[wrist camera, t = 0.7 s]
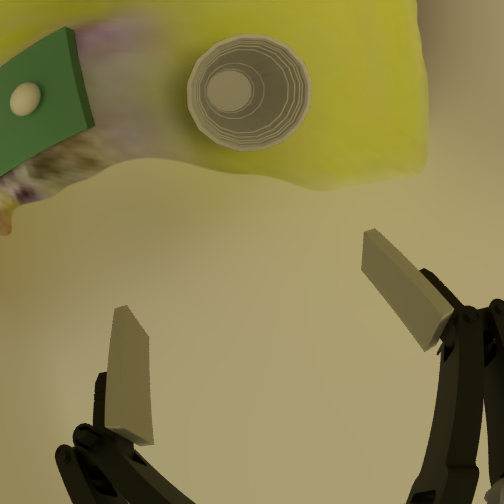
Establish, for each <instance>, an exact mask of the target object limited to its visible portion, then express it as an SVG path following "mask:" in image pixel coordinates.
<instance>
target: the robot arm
mask: <svg viewBox="0 0 504 504" xmlns="http://www.w3.org/2000/svg"><path fill="white" fill-rule="evenodd" d="M361 270H362V271H363V273H365V275H366V276H367V277H368V279H369V280H370V281H371V282H372V283H373V284H374V286H375V287H376V288H377V290H378V291H379V292H380V293H381V295H382V296H383V297H384V298H385V300H386V301H387V302H388V304H389V305H390V306H391V307H392V309H393V310H394V311H395V313H396V314H397V315H398V316H399V318H400V319H401V320H402V322H403V323H404V324H405V326H406V327H407V328H408V330H409V331H410V332H411V334H412V335H413V337H414V338H415V339H416V341H417V342H418V343H419V345H420V346H421V347H422V349H423V350H424V352H426V351H428V350H429V349H431V348H432V347H434V346H435V345H436V344H437V342H438V340H439V339H441V340H442V342H443V343H442V344H441V346H440V348H439V350H438V351H437V355H439V353H440V352H441V361H440V372H439V383H438V391H437V398H436V405H435V411H434V418H433V422H432V427H431V432H430V437H429V441H428V446H427V450H426V454H425V458H424V461H423V465H422V468H421V472H420V474H419V476H418V477H417V478H416V480H415V482H414V484H413V486H412V489H411V491H410V494H409V497H408V499H407V502H406V504H472V500H473V497H474V494H475V490H476V486H477V483H478V478H479V468H478V467H477V466H476V463H475V461H476V456H477V450H478V445H479V438H480V430H481V423H482V412H483V399H484V404H485V412H486V422H487V434H488V454H489V476H490V483H491V489H490V490H488V491H487V492H486V494H485V498H484V499H485V501H487V504H504V301H503V300H501V299H494V300H493V301H492V302H491V303H490V305H489V307H486V308H482V309H478V310H477V309H476V308H474V307H472V306H464V305H463V304H462V303H461V302H460V301H459V300H458V299H457V298H456V297H455V296H454V295H453V293H452V292H451V291H450V290H449V289H448V288H447V287H446V286H444V284H443V283H442V282H441V281H439V279H438V278H437V277H436V276H435V275H434V274H433V273H432V272H430V271H428V270H427V269H425V268H423V269H421V270H418V269H417V268H416V267H415V266H414V265H413V264H412V263H411V262H410V261H408V259H407V258H406V257H405V256H404V255H403V254H402V253H401V252H399V250H398V249H397V248H396V247H394V246H393V245H392V244H391V243H390V242H389V241H388V240H387V239H386V238H385V237H384V236H383V235H382V234H381V233H380V232H378V231H377V230H376V229H375V228H374V229H371V230H368V231H365V232H364V239H363V254H362V268H361ZM494 338H495V339H494ZM94 400H95V402H94V409H93V410H94V411H93V426H91V425H90V424H87V423H83V424H80V425H79V426H77V427H76V429H75V430H74V433H73V443H74V445H75V447H70V446H68V445H65V444H63V445H60V446H59V447H58V448H57V450H56V453H55V459H56V463H57V466H58V469H59V472H60V474H61V477H62V480H63V482H64V484H65V487H66V489H67V492H68V494H69V496H70V498H71V501H72V503H73V504H128V502H129V504H195V503H194V502H193V501H192V500H190V499H189V498H188V497H186V496H185V495H184V494H183V493H182V492H180V491H179V490H178V489H177V488H176V487H174V486H173V485H172V484H171V483H170V482H169V481H167V480H166V479H165V478H164V477H163V476H162V475H161V474H160V473H158V471H156V470H155V469H154V468H153V467H152V466H151V465H150V464H149V463H148V462H147V461H146V460H145V459H144V458H143V457H142V456H141V455H140V454H139V453H138V452H137V451H136V450H135V449H134V446H133V443H135V444H137V445H139V446H146V445H154V439H153V428H152V417H151V400H150V376H149V336H148V335H147V333H146V332H145V330H144V329H143V328H142V326H141V325H140V324H139V322H138V321H137V319H136V318H135V316H134V315H133V313H132V312H131V310H130V309H129V308H128V306H127V305H126V306H122V307H119V308H116V309H115V310H114V317H113V324H112V331H111V339H110V347H109V356H108V368H107V372H103V373H99V375H98V378H97V380H96V382H95V394H94ZM126 500H127V501H128V502H127V501H126Z"/></svg>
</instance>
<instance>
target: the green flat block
mask: <svg viewBox="0 0 504 504" xmlns="http://www.w3.org/2000/svg"><path fill="white" fill-rule="evenodd" d="M26 82H32V83H35V84H36V85H37V86H38V87H39V89H40V93H41V97H40V101H39V104H38V106H37V107H36V109H35V110H34V111H33V112H31V113H30V114H28V115H26V116H18V115H16V114H14V113H13V112H12V110H11V108H10V98H11V95H12V93H13V92H14V90H15V89H16V88H17V87H18V86H19V85H21V84H23V83H26ZM92 126H95V124H94V120H93V117H92V113H91V109H90V106H89V102H88V98H87V94H86V90H85V86H84V81H83V77H82V73H81V68H80V63H79V58H78V53H77V47H76V41H75V35H74V31H73V30H71V29H69V28H67V27H64V28H62V29H60V30H58V31H56V32H54V33H52V34H51V35H49V36H47V37H45V38H44V39H42V40H40V41H39V42H37V43H35V44H34V45H32V46H31V47H29V48H27V49H26V50H24V51H23V52H21V53H20V54H18V55H17V56H16V57H14V58H13V59H11V60H10V61H8V62H7V63H6V64H4V65H3V66H2V67H0V176H2V175H3V174H5V173H6V172H8V171H10V170H11V169H13V168H14V167H16V166H17V165H19V164H21V163H22V162H24V161H26V160H27V159H29V158H31V157H33V156H34V155H36V154H38V153H40V152H41V151H43V150H45V149H47V148H49V147H51V146H53V145H55V144H56V143H58V142H60V141H62V140H64V139H66V138H69V137H71V136H73V135H75V134H77V133H79V132H81V131H84V130H86V129H88V128H90V127H92Z"/></svg>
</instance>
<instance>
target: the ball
mask: <svg viewBox="0 0 504 504" xmlns="http://www.w3.org/2000/svg"><path fill="white" fill-rule="evenodd" d="M40 97H41V93H40V89H39V87H38V86H37V85H36V84H35V83H32V82H26V83H23V84H21V85H19V86H18V87H17V88H16V89H15V90H14V92H13V93H12V95H11V98H10V108H11V110H12V112H13V113H14V114H16V115H18V116H26V115H28V114H30V113H31V112H33V111H34V110H35V109H36V107H37V106H38V104H39V101H40Z"/></svg>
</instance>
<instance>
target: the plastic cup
mask: <svg viewBox="0 0 504 504" xmlns="http://www.w3.org/2000/svg"><path fill="white" fill-rule="evenodd" d="M311 93H312V83H311V80H310V77H309V74H308V71H307V68H306V65H305V63H304V62H303V60H302V59H301V58H300V57H299V56H298V55H297V54H296V53H295V52H294V51H293V49H292V48H291V47H290V46H289V45H287V44H285V43H282V42H280V41H278V40H276V39H274V38H272V37H269V36H267V35H255V34H239V35H236V36H233V37H230V38H227V39H225V40H222V41H219V42H217V43H215V44H214V45H213V46H212V47H211V48H209V49H208V50H207V51H206V52H205V53H204V54H203V55H202V56H201V57H200V58H199V59H198V60H197V61H196V63H195V65H194V68H193V70H192V72H191V75H190V77H189V80H188V82H187V102H188V109H189V111H190V113H191V115H192V117H193V119H194V121H195V123H196V125H197V127H198V129H199V130H200V131H201V132H203V133H204V134H205V135H206V136H207V137H209V138H210V139H211V140H212V141H213V142H215V143H216V144H218V145H221V146H224V147H227V148H230V149H233V150H236V151H259V150H265V149H267V148H269V147H272V146H274V145H277V144H279V143H282V142H284V141H285V140H286V139H287V138H288V137H289V136H290V135H292V134H293V133H294V132H295V131H296V130H297V129H298V128H299V127H300V126H301V125H302V122H303V120H304V118H305V116H306V114H307V112H308V110H309V108H310V106H311Z"/></svg>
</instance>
